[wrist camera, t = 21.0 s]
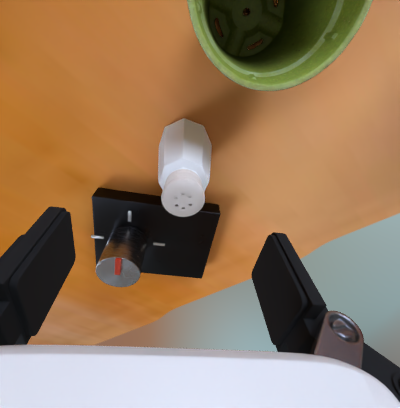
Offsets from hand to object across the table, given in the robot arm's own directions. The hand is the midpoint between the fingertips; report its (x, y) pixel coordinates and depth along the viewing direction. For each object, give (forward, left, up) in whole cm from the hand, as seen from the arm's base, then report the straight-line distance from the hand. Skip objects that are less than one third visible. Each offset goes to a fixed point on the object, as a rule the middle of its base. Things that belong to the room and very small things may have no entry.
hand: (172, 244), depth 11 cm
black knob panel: (-1, -12, -15) cm, 19 cm away
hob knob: (-5, -12, -13) cm, 18 cm away
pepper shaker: (0, 0, -15) cm, 15 cm away
